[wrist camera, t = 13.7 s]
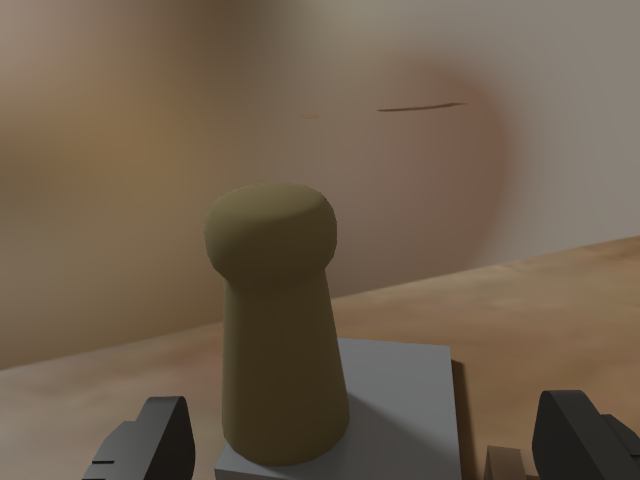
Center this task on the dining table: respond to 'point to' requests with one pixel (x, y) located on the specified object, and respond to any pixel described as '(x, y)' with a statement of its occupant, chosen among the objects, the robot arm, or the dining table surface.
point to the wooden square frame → (509, 464)
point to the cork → (278, 323)
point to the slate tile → (380, 420)
